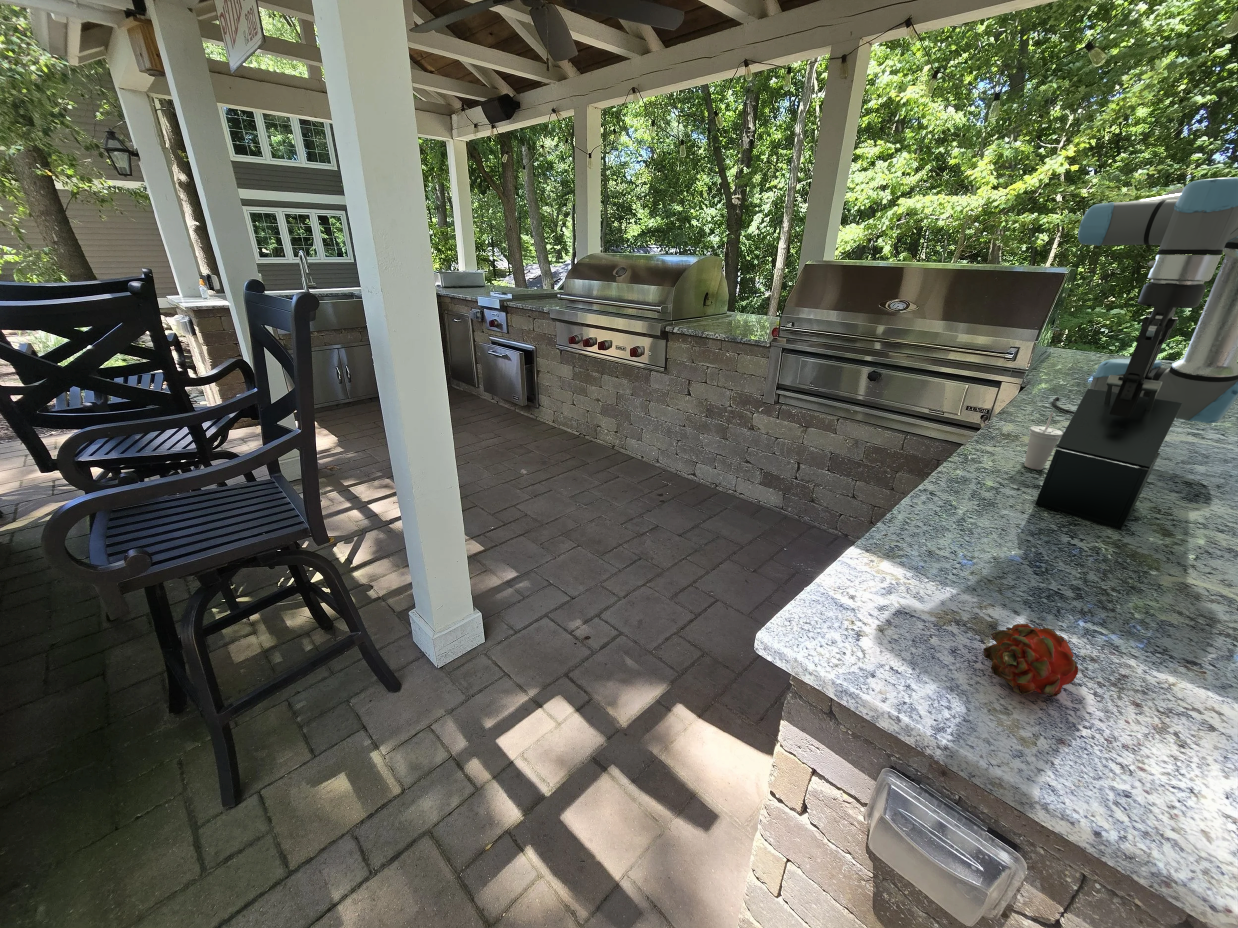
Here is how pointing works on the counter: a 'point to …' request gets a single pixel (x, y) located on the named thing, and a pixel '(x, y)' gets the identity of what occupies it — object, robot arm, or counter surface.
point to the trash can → (1092, 487)
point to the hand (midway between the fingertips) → (1120, 414)
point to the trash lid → (1120, 426)
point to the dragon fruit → (1032, 659)
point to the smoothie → (1041, 445)
